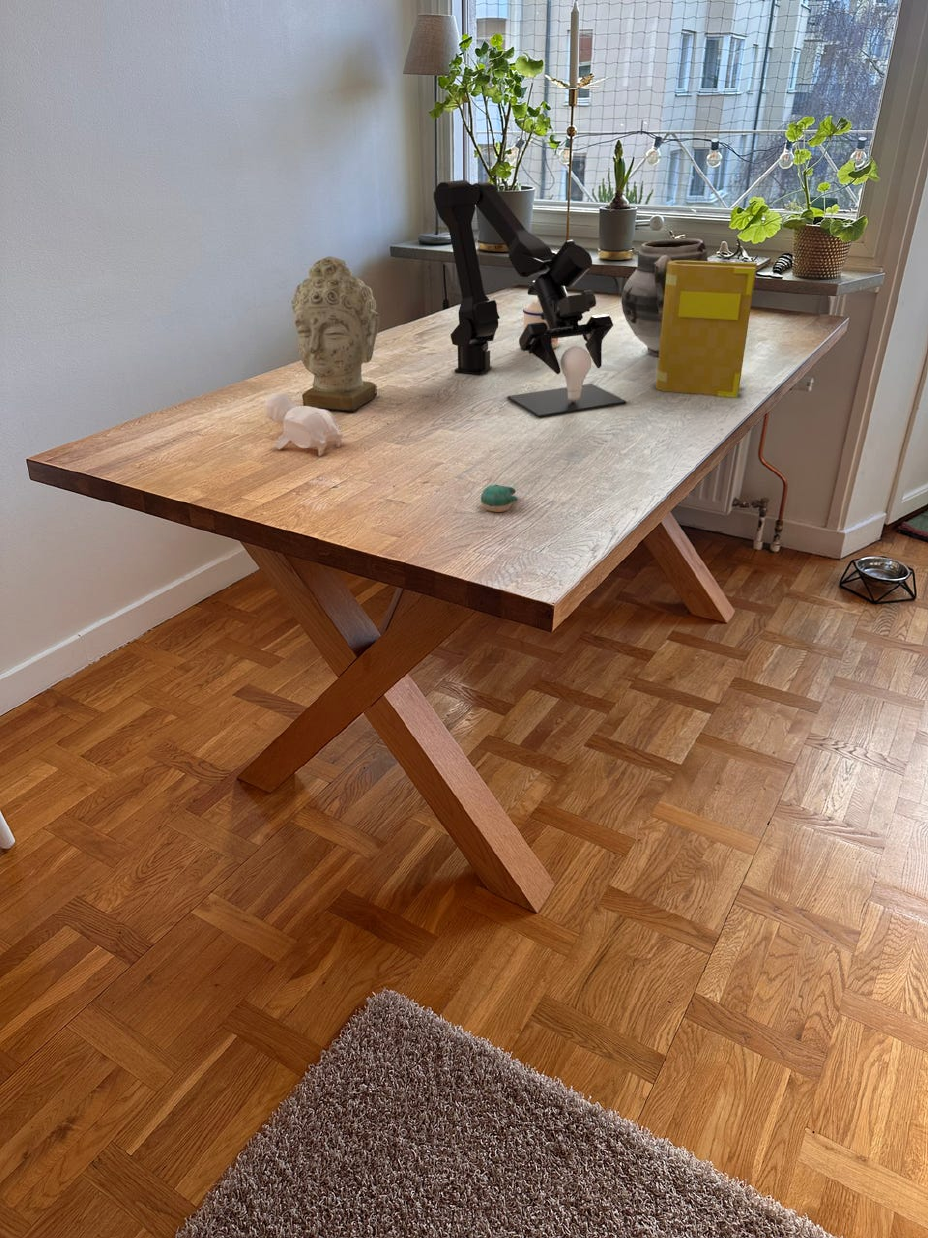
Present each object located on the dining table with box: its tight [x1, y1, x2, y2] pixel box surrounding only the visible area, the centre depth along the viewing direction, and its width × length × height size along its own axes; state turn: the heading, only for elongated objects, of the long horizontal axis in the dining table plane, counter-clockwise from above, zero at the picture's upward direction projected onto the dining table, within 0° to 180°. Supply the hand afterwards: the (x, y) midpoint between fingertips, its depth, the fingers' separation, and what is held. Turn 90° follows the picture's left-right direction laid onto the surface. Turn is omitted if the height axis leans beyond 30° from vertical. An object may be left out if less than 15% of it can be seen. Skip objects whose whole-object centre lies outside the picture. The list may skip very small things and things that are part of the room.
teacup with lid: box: [522, 299, 559, 349], centre depth 220 cm, size 12×9×12 cm
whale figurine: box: [480, 484, 518, 513], centre depth 138 cm, size 6×7×4 cm
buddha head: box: [291, 256, 380, 413], centre depth 179 cm, size 17×19×28 cm
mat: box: [507, 383, 627, 418], centre depth 183 cm, size 14×20×1 cm
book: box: [655, 260, 758, 398], centre depth 182 cm, size 17×7×25 cm, turn 71°
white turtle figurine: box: [263, 392, 344, 457], centre depth 162 cm, size 9×8×15 cm
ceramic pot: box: [620, 237, 709, 357], centre depth 208 cm, size 29×23×25 cm
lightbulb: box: [559, 346, 592, 402], centre depth 178 cm, size 6×6×11 cm
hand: (579, 369), depth 176 cm, fingers open, 9 cm apart
